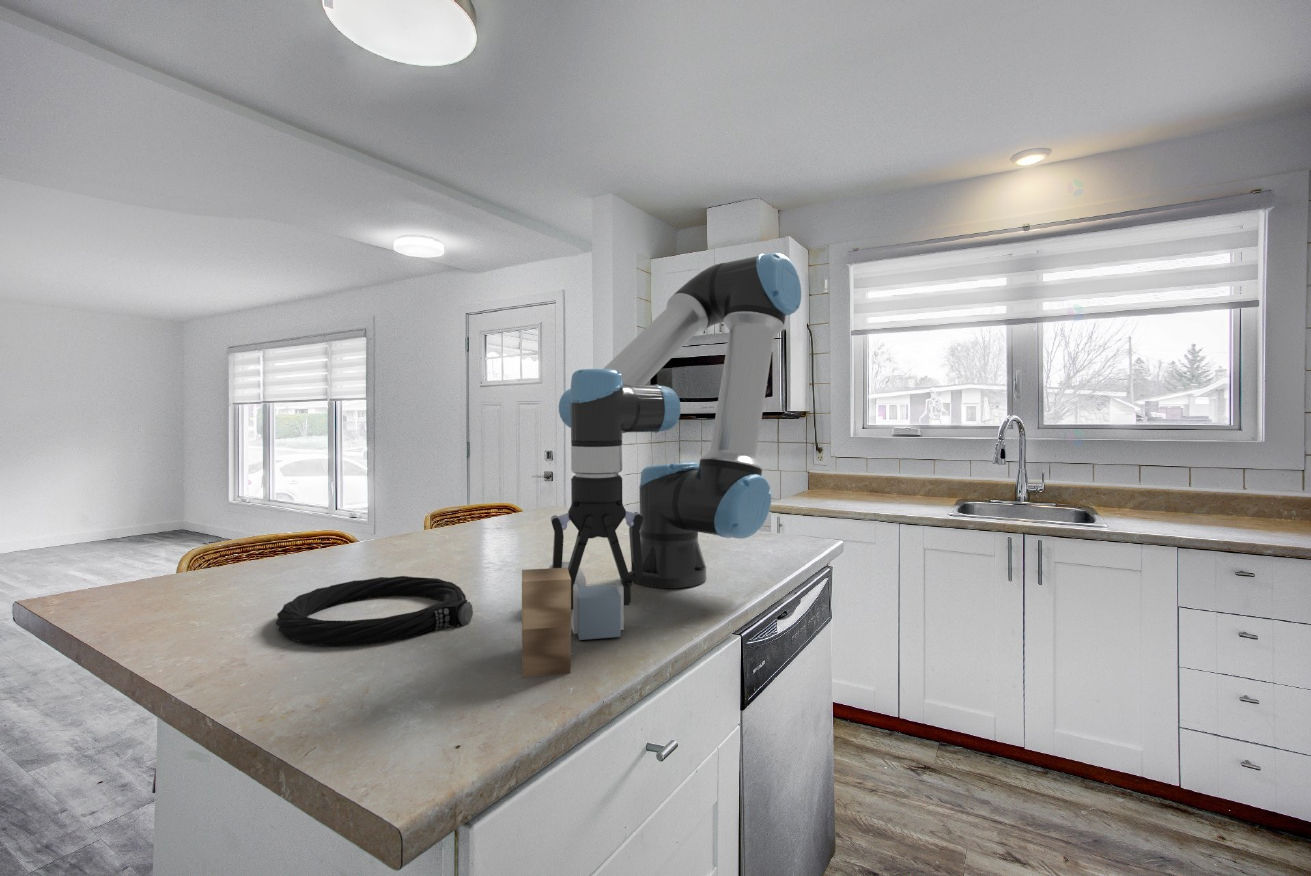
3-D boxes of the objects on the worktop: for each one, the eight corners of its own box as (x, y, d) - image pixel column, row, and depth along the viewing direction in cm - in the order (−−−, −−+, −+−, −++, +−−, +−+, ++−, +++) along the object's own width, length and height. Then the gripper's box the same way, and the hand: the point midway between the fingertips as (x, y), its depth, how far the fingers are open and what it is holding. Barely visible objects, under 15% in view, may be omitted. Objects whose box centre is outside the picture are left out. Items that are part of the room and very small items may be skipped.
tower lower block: (566, 655, 83) (567, 611, 83) (570, 673, 77) (570, 626, 77) (521, 658, 81) (521, 614, 81) (522, 677, 76) (522, 629, 75)
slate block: (614, 622, 94) (614, 584, 94) (620, 636, 89) (620, 595, 88) (575, 625, 93) (575, 586, 93) (579, 639, 87) (579, 598, 87)
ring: (358, 569, 114) (507, 579, 108) (359, 589, 114) (507, 600, 108) (228, 616, 87) (416, 632, 81) (228, 643, 87) (417, 661, 81)
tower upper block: (567, 611, 83) (567, 567, 82) (570, 626, 77) (571, 579, 77) (521, 614, 81) (521, 569, 81) (522, 629, 75) (522, 581, 75)
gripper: (653, 470, 96) (654, 615, 97) (530, 473, 91) (532, 624, 92) (665, 475, 88) (665, 632, 89) (531, 478, 84) (533, 643, 85)
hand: (597, 628), depth 91 cm, fingers closed on slate block, 6 cm apart
